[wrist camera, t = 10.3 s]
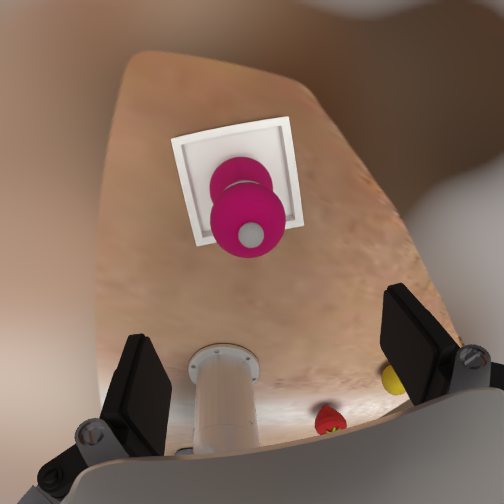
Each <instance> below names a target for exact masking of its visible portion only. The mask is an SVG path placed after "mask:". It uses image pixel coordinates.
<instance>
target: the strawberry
mask: <svg viewBox="0 0 504 504" xmlns="http://www.w3.org/2000/svg"><path fill="white" fill-rule="evenodd" d="M346 427H347V424H346V420H345V419H344V417H343V416H342V415H341V414H340V413H339V412H337V411H336V410H334V409H333V408H331V407H329V406H327V405H325V406H323V407H322V409H321V410H320V412H319V413H318V415H317V417H316V419H315V429H316V431H317V433H318V434H320V435H323V434H327V433H331V432H335V431H339V430H342V429H346Z"/></svg>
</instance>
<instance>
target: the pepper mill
mask: <svg viewBox="0 0 504 504" xmlns="http://www.w3.org/2000/svg"><path fill="white" fill-rule="evenodd" d="M209 191H210V197H211V200H212V203H213V206H212V209H211V213H210V226H211V231H212V234H213V236H214V238H215V240H216V242H217V243H218V244H219V245H220V246H221V247H222V248H223V249H224V250H225V251H227V252H228V253H230V254H232V255H235V256H238V257H243V258H253V257H258V256H262V255H264V254H266V253H268V252H269V251H271V250H272V249H273V248H274V247H275V246H276V245H277V244H278V242H279V241H280V239H281V237H282V235H283V233H284V230H285V225H286V214H285V210H284V207H283V204H282V202H281V200H280V199H279V197H278V196H277V195H276V194H275V193H274V192H273V183H272V179H271V177H270V174H269V172H268V171H267V169H266V168H265V167H264V166H263V165H262V164H261V163H260V162H258V161H256V160H254V159H251V158H248V157H234V158H231V159H228V160H226V161H224V162H223V163H222V164H220V165H219V166H218V167H217V168H216V170H215V171H214V173H213V175H212V177H211V180H210V185H209Z"/></svg>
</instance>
